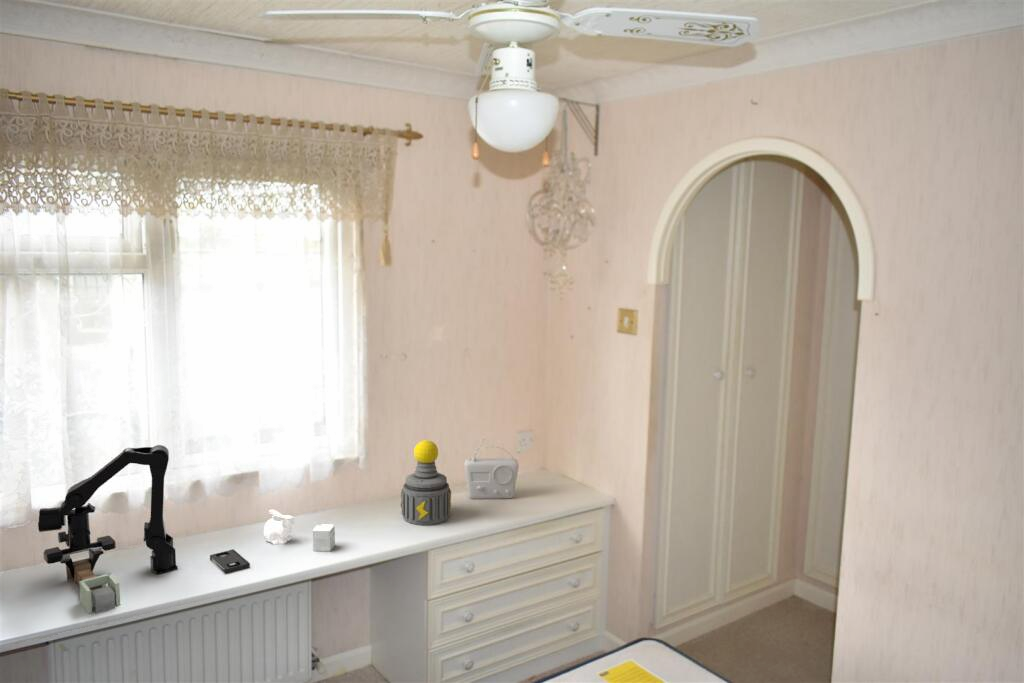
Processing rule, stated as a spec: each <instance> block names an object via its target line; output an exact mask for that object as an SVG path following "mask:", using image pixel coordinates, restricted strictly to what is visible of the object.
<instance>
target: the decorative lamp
mask: <svg viewBox="0 0 1024 683" xmlns="http://www.w3.org/2000/svg"><path fill="white" fill-rule="evenodd" d="M413 452H414V453H413V455H414V458H415V460H416V462H417V463H416V466H415V470H414V473H411V474H409V475H407V476H406V477H405V482H404V484H403V485H402V488H401V492H400V507H401V515H402V518H403V520H404V521H406V522H407V523H409V524H411V525H417V526H431V525H433V526H434V525H438V524H441V523H444V522H446V521H447V520H448V519H449V517H450V515H451V514H452V513H451V510H452V491H451V490H452V489H451V488H450V484H449V483H448V481H447V478H448V477H447V476H446V475H444V474H442V473H440V472H438V470H437V466H436V462H435V461H436V460H437V459H438V456H439V449H438V446H437V444H436V443H434V442H433V441H432V440H429V439H426V440H425V439H424V440H421V441H419V442H418V443H417V444H416V445H415V446H414V450H413Z"/></svg>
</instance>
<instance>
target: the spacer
mask: <svg viewBox="0 0 1024 683" xmlns="http://www.w3.org/2000/svg"><path fill="white" fill-rule="evenodd" d="M91 602H92V611H93V612H94V613H95V614H99V613H104V612H107V611H110V610H113V609H116V604H115V593H114V591H113V590H112V588H111V587H110V586H108V585H106V587H103V588H99V589H95V590H91Z"/></svg>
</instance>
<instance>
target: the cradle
mask: <svg viewBox="0 0 1024 683" xmlns="http://www.w3.org/2000/svg"><path fill="white" fill-rule="evenodd" d="M99 585H101V587H102V588H103V587H107V586H110V587H111V588H112V590H113V591H114V593H115V607H116V606H117V607H118V606H120V605H121V593H120V582H119V580H117V579H116V577H115V576H114V575H113V574H112V573H106V574H102V575H99V576H96V577H94V578H90V579H86V580H82V581H79V584H78V586H79V599H80V600H79V601H80V604H81V606H82V607H83V608H84V610H85V612H86V613H88V614H92V613H93V609H92V602H91V590H90V589H89V588H92V587H95V586H99Z"/></svg>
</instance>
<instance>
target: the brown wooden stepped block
mask: <svg viewBox="0 0 1024 683" xmlns="http://www.w3.org/2000/svg"><path fill="white" fill-rule="evenodd" d="M72 562H73V568H74V578H72V576H71V574H70V572H69V570H68V568H67V566H66V565H65V571H66V580H67V581H68V580H73V582H74V583H75V584H77V585H79V581H82V580H86V579H90V578H94V577H97V576H96V575H95V573H94V572H93V571H94V570H93V571H91V563H90V562H89V557H88V558H83V559H78V560H73V561H72ZM99 588H102V587H101V585H99V586H95V587H92V588H89V589H90V590H95V589H99Z"/></svg>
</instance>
